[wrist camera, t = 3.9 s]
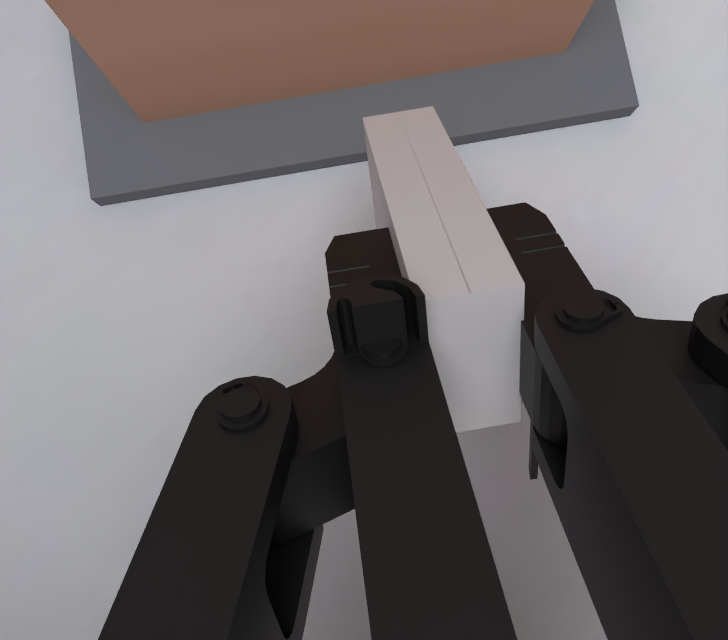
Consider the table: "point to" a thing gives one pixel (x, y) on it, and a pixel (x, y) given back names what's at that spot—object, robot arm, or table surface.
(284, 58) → the tile
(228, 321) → the table surface
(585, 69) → the mat
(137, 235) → the table surface
